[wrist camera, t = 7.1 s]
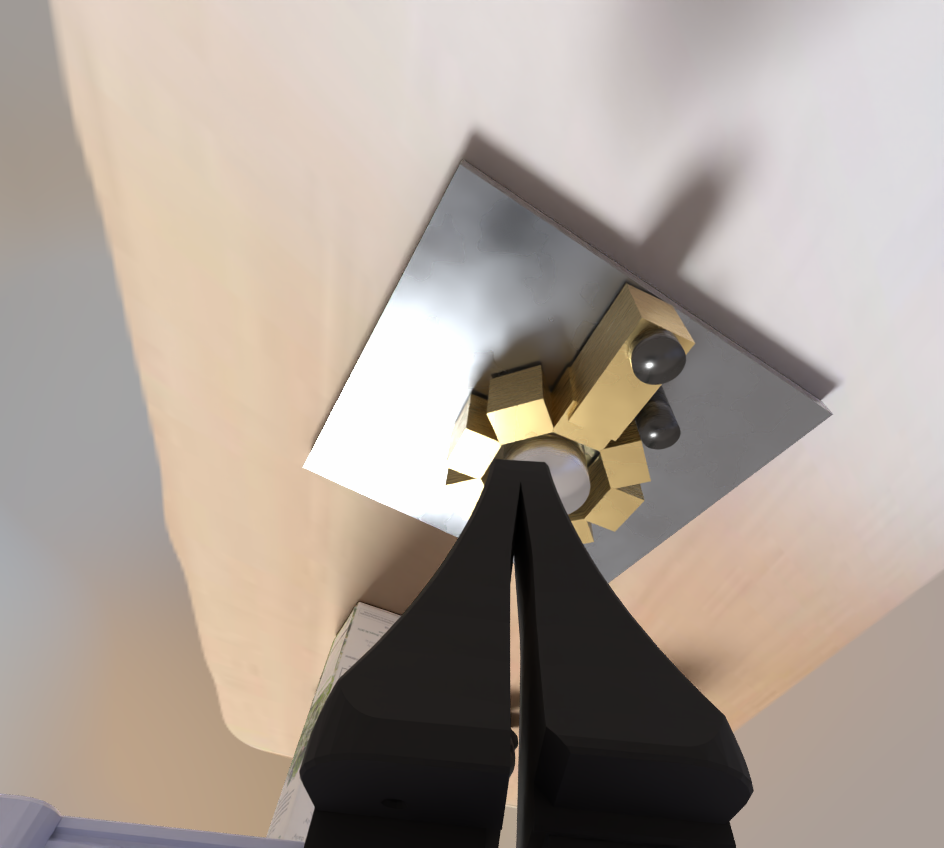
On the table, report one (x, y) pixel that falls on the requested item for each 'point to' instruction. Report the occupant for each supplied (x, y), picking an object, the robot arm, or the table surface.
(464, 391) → the grey metal base plate
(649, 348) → the brass block wheel
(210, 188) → the table surface
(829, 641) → the table surface
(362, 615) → the syrup box
